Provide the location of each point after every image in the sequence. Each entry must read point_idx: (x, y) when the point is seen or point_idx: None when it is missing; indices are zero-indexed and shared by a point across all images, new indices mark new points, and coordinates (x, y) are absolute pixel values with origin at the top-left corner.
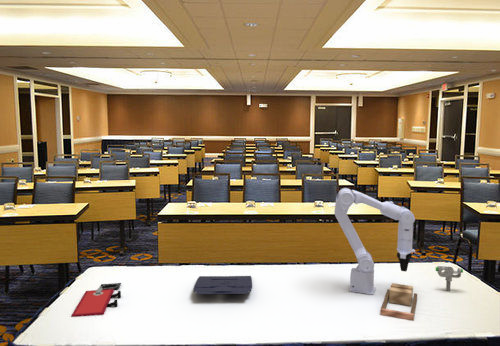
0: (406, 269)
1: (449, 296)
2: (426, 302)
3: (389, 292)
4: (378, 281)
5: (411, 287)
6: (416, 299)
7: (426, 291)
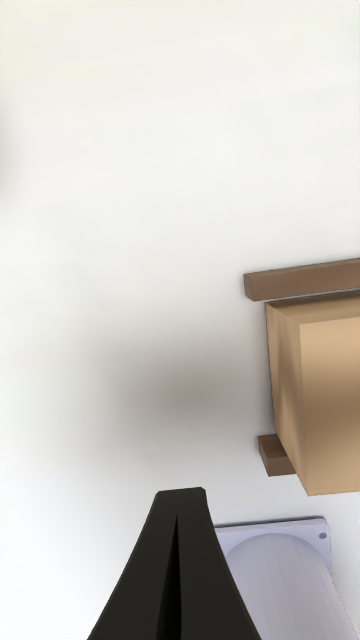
0: (209, 513)
1: (59, 47)
2: (285, 198)
3: None
4: (80, 538)
5: (343, 329)
6: (349, 262)
7: (64, 240)
